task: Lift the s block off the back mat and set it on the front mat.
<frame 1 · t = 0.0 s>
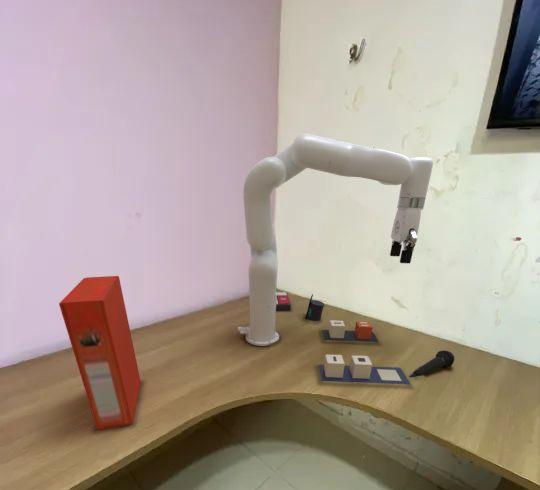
hand: (399, 259, 102), 31 cm above the table, tool pointing down, fingers open, 9 cm apart
speaker: (313, 320, 133), on the table
white cube: (333, 372, 95), point 1 cm above the table, touching front mat
file binder: (120, 404, 81), on the table
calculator: (277, 305, 148), on the table
a block: (336, 335, 118), point 1 cm above the table, touching back mat
s block: (362, 336, 118), point 1 cm above the table, touching back mat
microphone: (427, 370, 99), on the table
front mat: (362, 376, 95), on the table
p block: (359, 373, 95), point 1 cm above the table, touching front mat
back mat: (348, 337, 118), on the table
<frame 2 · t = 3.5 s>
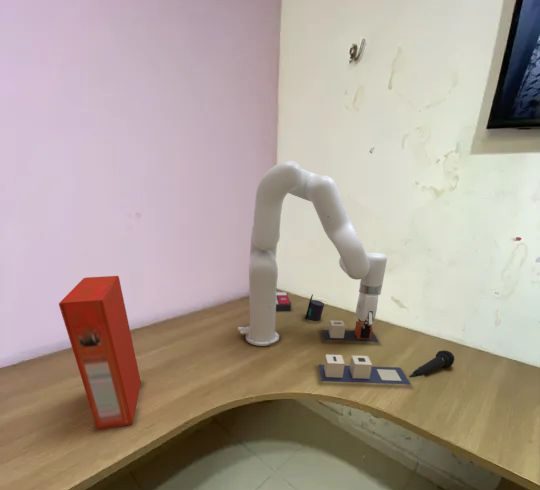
hand: (362, 333, 117), 2 cm above the table, tool pointing down, fingers closed on s block, 5 cm apart
s block: (362, 336, 118), point 1 cm above the table, touching back mat, gripper
everything else where it was.
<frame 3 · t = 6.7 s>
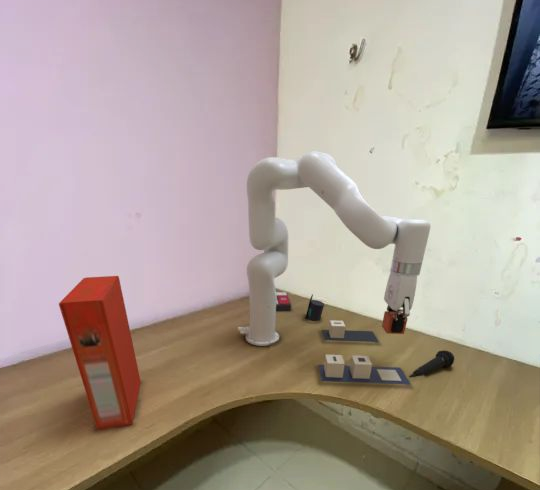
hand: (393, 327, 92), 15 cm above the table, tool pointing down, fingers closed on s block, 5 cm apart
s block: (392, 330, 92), point 14 cm above the table, touching gripper
everything else where it was.
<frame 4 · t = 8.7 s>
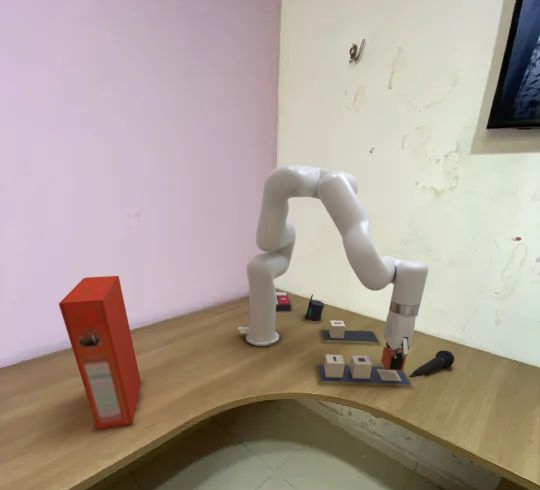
hand: (392, 363, 92), 5 cm above the table, tool pointing down, fingers closed on s block, 5 cm apart
s block: (391, 365, 93), point 4 cm above the table, touching gripper
everything else where it was.
when the fingers open (2 cm above the table, at t = 9.9 s): s block stays where it is, resting on front mat.
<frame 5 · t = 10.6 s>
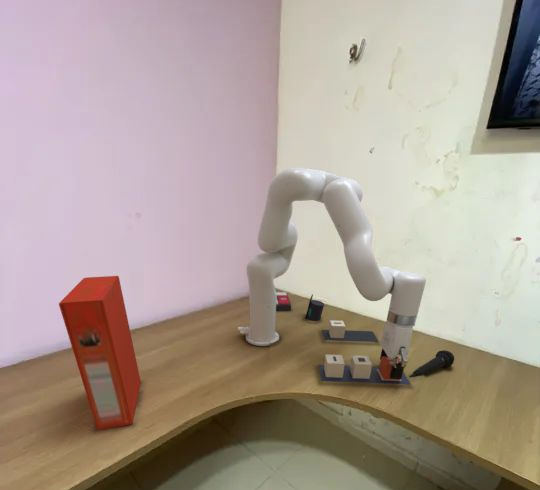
hand: (389, 369, 94), 3 cm above the table, tool pointing down, fingers open, 9 cm apart
s block: (389, 374, 94), point 1 cm above the table, touching front mat
everything else where it was.
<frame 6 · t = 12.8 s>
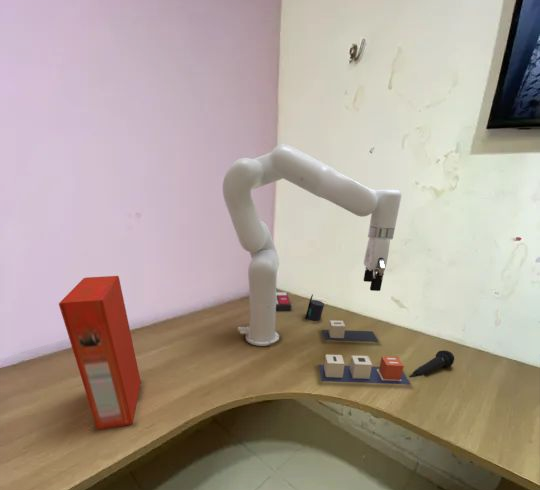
hand: (371, 285, 104), 23 cm above the table, tool pointing down, fingers open, 9 cm apart
nothing on the table moved.
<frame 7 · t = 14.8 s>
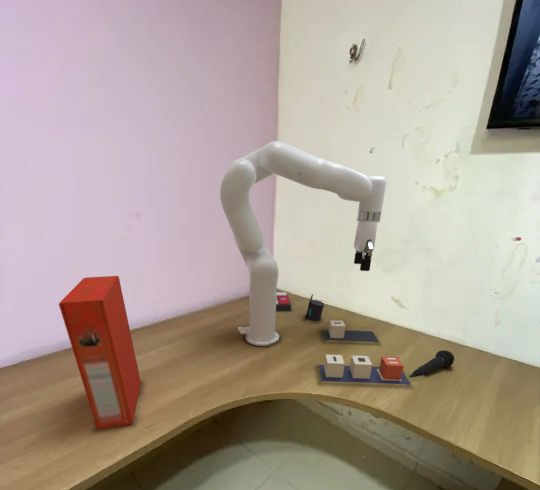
hand: (361, 267, 112), 26 cm above the table, tool pointing down, fingers open, 9 cm apart
nothing on the table moved.
at the end: s block 0.1 cm from the target spot on the front mat, point 1.1 cm above the front mat's base; s block tilted 0°; the gripper is holding nothing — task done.
